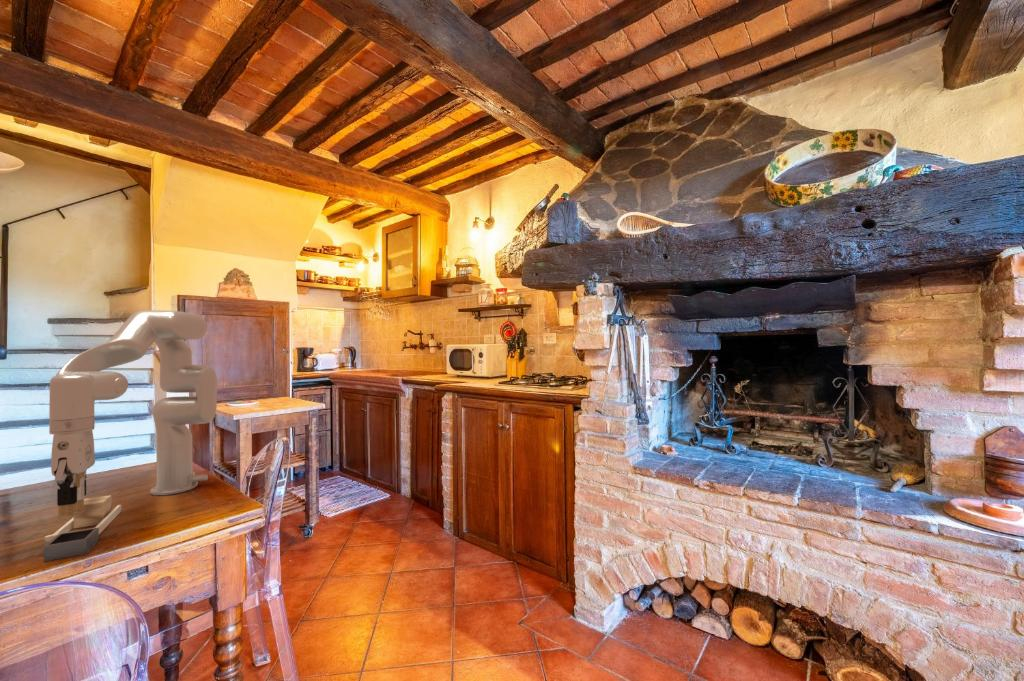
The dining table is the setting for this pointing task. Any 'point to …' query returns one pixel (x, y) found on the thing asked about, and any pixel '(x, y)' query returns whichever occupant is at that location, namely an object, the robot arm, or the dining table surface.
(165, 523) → the dining table surface
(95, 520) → the cardboard box
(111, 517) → the bay
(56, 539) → the winch socket
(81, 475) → the sprinkles bottle
